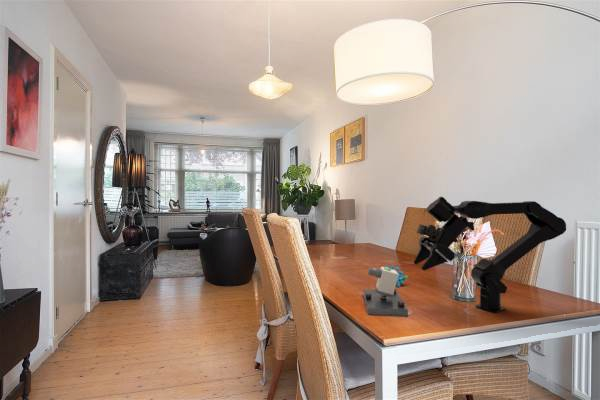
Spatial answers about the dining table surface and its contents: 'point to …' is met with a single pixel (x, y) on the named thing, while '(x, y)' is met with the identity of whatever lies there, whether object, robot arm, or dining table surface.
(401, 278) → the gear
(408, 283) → the dining table surface
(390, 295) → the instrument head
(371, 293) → the base
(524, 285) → the dining table surface
